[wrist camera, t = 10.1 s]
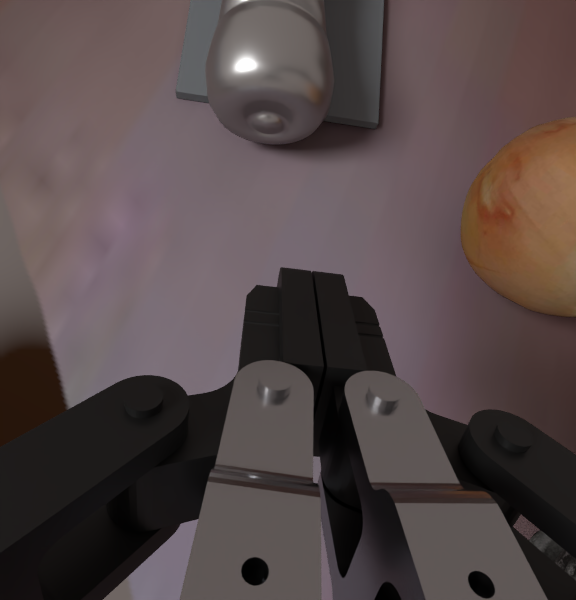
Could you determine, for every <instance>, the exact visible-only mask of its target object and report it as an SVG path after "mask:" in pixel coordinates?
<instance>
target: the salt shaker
mask: <svg viewBox="0 0 576 600" xmlns="http://www.w3.org/2000/svg"><path fill="white" fill-rule="evenodd" d="M529 541H530V542H531V543H532V544H533V545H535V546H536V547H537V548H538V549H539V550H540V551H542V552H543V553H544V554H545V555H546V556H547V557H549V558H550V559H551V560H552V561H553V562H555V563H556V564H557V565H558V566H559V567H560V568H562V569H563V570H564V571H565V572H566V573H567V574H569V575H570V576H571V577H572V578H573V579H574V580H576V559H575V558H574V557H573V556H571V555H570V554H569V553H568V552H567V551H565V550H564V549H563V548H562V547H561V546H559V545H558V544H557V543H556V542H554V541H553V540H552V539H551V538H550V537H548V536H547V535H546V534H545V533H544V532H542V531H541V530H540V531H538V532H537V533H535V534H534V535H533V536H532V538H531V539H530V540H529Z"/></svg>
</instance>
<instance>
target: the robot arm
mask: <svg viewBox="0 0 576 600" xmlns="http://www.w3.org/2000/svg"><path fill="white" fill-rule="evenodd" d="M313 456H317V457H320V461H321V472H320V476H319V479H318V483H317V484H316V483H313ZM521 514H522V515H523V516H524V517H525V518H527V519H528V520H529V521H530V522H531V523H533V524H534V525H535V526H536V527H537V528H539V529H540V530H541V531H542V532H544V533H545V534H546V535H547V536H548V537H550V538H551V539H552V540H553V541H554V542H556V543H557V544H558V545H559V546H561V547H562V548H563V549H564V550H565V551H567V552H568V553H569V554H570V555H571V556H573V557H574V558H575V559H576V455H575V454H574V453H572V452H571V451H569V450H568V449H566V448H565V447H564V446H562V445H561V444H559V443H558V442H556V441H555V440H553V439H552V438H550V437H549V436H548V435H546V434H545V433H543V432H542V431H540V430H539V429H537V428H536V427H534V426H533V425H532V424H530V423H528V422H527V421H525V420H524V419H522V418H520V417H518V416H516V415H513V414H511V413H508V412H504V411H500V410H483V411H479V412H477V413H475V414H474V415H473V416H472V418H471V420H470V422H469V424H468V425H466V424H463V423H460V422H457V421H454V420H451V419H448V418H445V417H442V416H439V415H436V414H434V413H431V412H429V411H427V410H425V408H424V406H423V404H422V402H421V400H420V398H419V396H418V394H417V393H416V392H415V390H414V389H413V388H412V387H411V386H410V385H409V384H407V383H406V382H405V381H403V380H401V379H400V378H398V377H396V374H395V371H394V368H393V365H392V362H391V359H390V356H389V353H388V350H387V346H386V343H385V340H384V338H383V334H382V331H381V328H380V327H379V322H378V319H377V316H376V313H375V310H374V309H373V308H372V307H371V306H370V305H369V304H368V303H367V302H366V301H365V300H364V299H363V297H356V296H349V295H348V291H347V287H346V283H345V279H344V276H343V275H341V274H333V273H325V272H316V271H313V272H312V273H311V271H307V270H299V269H291V268H283V267H281V268H280V272H279V277H278V284H277V287H270V286H261V285H256V286H255V288H254V289H253V290H252V291H251V292H250V293H249V294H248V295H247V298H246V306H245V315H244V323H243V331H242V340H241V348H240V358H239V367H238V372H237V374H236V376H235V377H234V379H233V380H232V381H231V382H229V383H228V384H227V385H225V386H224V387H222V388H220V389H217V390H215V391H212V392H207V393H203V394H196V395H189V396H187V394H186V392H185V391H184V389H183V388H182V387H181V386H180V385H179V384H177V383H175V382H174V381H172V380H170V379H167V378H164V377H160V376H153V375H143V376H135V377H130V378H127V379H124V380H122V381H120V382H117V383H115V384H114V385H112V386H110V387H108V388H106V389H105V390H103V391H101V392H99V393H97V394H96V395H94V396H92V397H90V398H88V399H87V400H85V401H83V402H81V403H79V404H77V405H76V406H74V407H72V408H70V409H68V410H67V411H65V412H63V413H61V414H60V415H58V416H56V417H54V418H52V419H50V420H49V421H47V422H45V423H43V424H41V425H40V426H38V427H36V428H34V429H32V430H30V431H29V432H27V433H25V434H23V435H21V436H20V437H18V438H16V439H14V440H12V441H11V442H9V443H7V444H5V445H3V446H2V447H0V600H103V599H104V598H105V597H106V596H107V595H108V594H109V593H110V592H111V591H113V590H114V589H115V588H116V587H117V586H118V585H119V584H120V583H121V582H122V581H123V580H124V579H126V578H127V577H128V576H129V575H130V574H131V573H132V572H133V571H134V570H135V569H136V568H137V567H139V566H140V565H141V564H142V563H143V562H144V561H145V560H146V559H147V558H148V557H149V556H151V555H152V554H153V553H154V552H155V551H156V550H157V549H158V548H159V547H160V546H161V545H162V544H164V543H165V542H166V541H167V540H168V539H169V538H170V537H171V536H172V535H173V534H174V533H175V532H176V530H177V529H178V527H179V526H180V524H181V523H184V522H188V521H192V520H196V519H199V520H198V524H197V528H196V532H195V537H194V541H193V545H192V549H191V554H190V558H189V562H188V566H187V571H186V575H185V579H184V583H183V588H182V592H181V596H180V600H321V522H322V528H323V534H324V540H325V546H326V552H327V558H328V564H329V570H330V576H331V583H332V594H333V600H576V580H574V579H573V578H572V577H571V576H570V575H569V574H567V573H566V572H565V571H564V570H563V569H562V568H560V567H559V566H558V565H557V564H556V563H555V562H553V561H552V560H551V559H550V558H549V557H547V556H546V555H545V554H544V553H543V552H542V551H540V550H539V549H538V548H537V547H536V546H535V545H533V544H532V543H531V542H530V541H529V540H527V539H526V538H525V537H524V536H523V535H522V534H520V533H519V532H518V531H517V530H516V529H515V528H513V525H514V524H515V522H516V521H517V519H518V518H519V516H520V515H521Z"/></svg>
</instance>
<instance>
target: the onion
mask: <svg viewBox="0 0 576 600" xmlns="http://www.w3.org/2000/svg"><path fill="white" fill-rule="evenodd" d="M461 242H462V247H463V250H464V253H465V255H466V258H467V260H468V262H469V264H470V265H471V267H472V268H473V270H474V271H475V273H476V274H477V275H478V276H479V277H480V278H481V279H482V280H483V281H484V282H485V283H486V284H487V285H488V286H489V287H491V288H492V289H493V290H494V291H496V292H497V293H498V294H500V295H502V296H503V297H505V298H507V299H509V300H511V301H513V302H515V303H517V304H519V305H521V306H523V307H525V308H527V309H529V310H532V311H535V312H539V313H543V314H548V315H555V316H563V317H576V117H569V118H563V119H559V120H554V121H551V122H548V123H545V124H541V125H537V126H535V127H532V128H531V129H529V130H527V131H526V132H524V133H523V134H521V135H519V136H517V137H516V138H515V139H513V140H512V141H511V142H509V143H508V144H507V145H505V146H504V147H503V148H502V149H501V150H500V151H499V152H498V153H497V154H496V156H495V157H494V158H493V159H491V161H490V162H488V163H487V165H486V166H485V167H484V168H483V169H482V170H481V171H480V172H479V174H478V176H477V177H476V179H475V180H474V182H473V183H472V185H471V187H470V189H469V191H468V194H467V196H466V200H465V203H464V207H463V212H462V219H461Z"/></svg>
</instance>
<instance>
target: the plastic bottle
mask: <svg viewBox="0 0 576 600" xmlns="http://www.w3.org/2000/svg"><path fill="white" fill-rule="evenodd" d="M205 78H206V87H207V97H208V100H209V104H210V106H211V108H212V109H213V111H214V113H215V114H216V116H217V118H218V119H219V121H220V122H221V123H222V124H223V126H224V127H225V128H227V129H228V130H229V131H230V132H232V133H234V134H235V135H237V136H239V137H241V138H244V139H246V140H249V141H253V142H257V143H263V144H274V145H276V144H288V143H293V142H296V141H300V140H302V139H304V138H306V137H308V136H310V135H311V134H312V133H314V131H315V130H316V129H317V128H318V127H319V125H320V124H321V123H322V122H323V120H324V119H325V118H326V116H327V114H328V112H329V108H330V103H331V98H332V93H333V88H334V73H333V66H332V58H331V52H330V47H329V43H328V39H327V34H326V21H325V8H324V0H222V4H221V9H220V14H219V20H218V24H217V27H216V30H215V32H214V35H213V38H212V41H211V44H210V48H209V52H208V56H207V60H206V64H205Z"/></svg>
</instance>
